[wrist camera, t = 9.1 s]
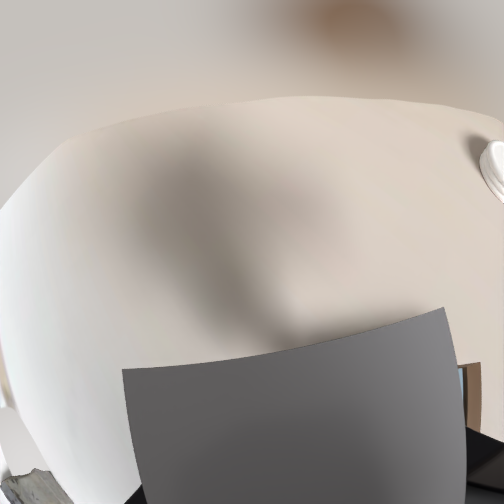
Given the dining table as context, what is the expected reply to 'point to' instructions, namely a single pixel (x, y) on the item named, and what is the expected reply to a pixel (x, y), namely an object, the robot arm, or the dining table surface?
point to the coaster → (494, 167)
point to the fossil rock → (34, 489)
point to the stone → (307, 423)
